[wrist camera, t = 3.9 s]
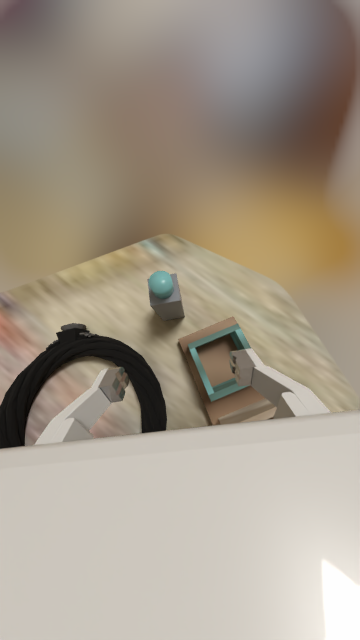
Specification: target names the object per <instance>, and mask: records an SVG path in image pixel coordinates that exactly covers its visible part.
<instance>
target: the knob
mask: <svg viewBox="0 0 360 640" xmlns="http://www.w3.org/2000/svg"><path fill="white" fill-rule="evenodd" d="M148 287H149V297H150V306H151V307H152V308H153V309H154V310H155V312H156V313H157V314H158V315H159V316H160V317H161V319H162V320H163V321H166V320H171V319H177V318H182V317H184V311H183V305H182V299H181V294H180V290H179V285H178V280H177V275H176V274H170V275H169V274H168V273H167V272H165V271H157V272H155V273H153V274H152V275H151V277H150V278H149V279H148Z"/></svg>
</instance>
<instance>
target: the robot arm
mask: <svg viewBox="0 0 360 640" xmlns="http://www.w3.org/2000/svg"><path fill="white" fill-rule="evenodd" d="M230 357H231V358H230V360H229V363H230V368H231V371H232V373H234V374H235V380H236V382H237V384H238V386H249V385H251V386H252V387H253V388H254V389H255V390H257V391H258V392H259V393H260V394H261V395H262V396H264V397H265V398H266V399H267V400H268V401H269V402H271V403H272V404H273V405H274V406H275V407H277V409H276V411H275V414H274V419H269V420H260V421H250V422H241V423H232V424H223V425H214V426H204V427H195V428H186V429H177V430H167V431H158V432H149V433H140V434H131V435H122V436H112V437H103V438H94V439H93V437H94V436H93V434H92V433H90V432H89V430H90V429H91V428H92V426H93V425H94V424H95V423H96V421H97V420H98V419H99V418H100V417H101V415H102V414H103V413H104V412H105V410H106V409H107V408H108V407H109V406H110V404H111V403H113V402H119V401H123V398H124V395H125V390H124V389H125V388H126V387H127V386H128V382H129V378H128V375H127V373H125V372H124V371H125V369H124V368H123V367H116V368H108V369H102V370H101V371H100V373H99V375H98V377H97V378H96V380H95V382H94V383H93V385H92V387H91V388H90V389H88V390H87V391H85V392H84V393H83V394H82V395H81V396H79V397H78V398H77V399H76V400H75V401H73V402H72V403H71V404H70V405H69V406H67V407H66V408H65V409H64V410H63V411H61V412H60V413H59V414H58V415H57V416H56V417H54V418H53V419H52V420H51V421H50V423H49V424H48V426H47V427H46V429H45V430H44V431H43V433H42V434H41V436H40V437H39V439H38V440H37V441H36V443H35V444H34V445H30V446H21V447H12V448H2V449H0V640H360V410H351V411H342V412H333V413H331V412H330V411H329V410H328V409H327V407H326V406H325V405H324V404H323V403H322V402H321V401H320V400H319V399H318V398H317V396H316V395H315V394H314V393H313V392H312V391H311V390H310V389H309V388H307V387H305V386H303V385H302V384H300V383H298V382H296V381H294V380H292V379H291V378H289V377H287V376H285V375H283V374H282V373H280V372H278V371H276V370H274V369H272V368H271V367H269V366H265V365H264V364H263V363H262V361H261V360H260V358H259V357H258V356H257V354H256V353H255V352H254V350H253V349H252V348H250V349H243V350H236V351H230Z"/></svg>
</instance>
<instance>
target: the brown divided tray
mask: <svg viewBox="0 0 360 640" xmlns="http://www.w3.org/2000/svg"><path fill="white" fill-rule="evenodd" d="M179 342H180V345H181V347H182V350H183V352H184V355H185V357H186V360H187V362H188V365H189V367H190V370H191V372H192V375H193V377H194V380H195V382H196V385H197V387H198V390H199V392H200V395H201V397H202V400H203V402H204V405H205V407H206V410H207V412H208V415H209V417H210V420H211V422H212V425H213V426H214V425H223V424H232V423H241V422H250V421H260V420H269V419H274V414H275V411H276V409H277V407H275V406H274V405H273V404H272V403H271V402H269V401H268V400H267V399H266V398H265V397H264V396H262V395H261V394H260V393H259V392H258V391H257V390H255V389H254V388H253V387H252V386H251V385H249V386H238V384H237V382H236V380H235V374H234V373H232V371H231V368H230V363H229V360H230V358H231V357H230V351H236V350H243V349H250V348H251V347H250V345H249V343H248V341H247V340H246V338H245V336H244V334H243V332H242V330H241V329H240V327H239V325H238V323H237V322H236V320H235V318H234V317H231V318H228V319H226V320H224V321H221V322H219V323H216V324H214V325H212V326H209V327H207V328H204V329H202V330H200V331H197V332H195V333H192V334H190V335H188V336H185V337H183V338H180V339H179Z"/></svg>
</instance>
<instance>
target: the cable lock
mask: <svg viewBox="0 0 360 640" xmlns="http://www.w3.org/2000/svg"><path fill="white" fill-rule="evenodd" d="M85 328H86V326H85V325H83V324H76V323H72V324H68V325H64V326H62V327H61V330H63V331H61V332H58V333H56V334H57V337H58V340H56V341H54V342H53V344H50V345H49V347H47V348H46V351H44V352H42V353H41V354H40V355H39V356H38V357H37V358H36V359H35V360H34V361H33V362H32V363H31V364H30V365H29V366H27V367H26V368H25V369H24V370H23V371H22V372H21V373H20V374H19V375H18V376H17V378H16V379H15V381H14V382H13V384H12V385H11V387H10V388H9V389H8V391H7V392H6V394H5V397H4V399H3V402H2V404H1V406H0V449H2V448H12V447H21V446H24V425H25V420H26V417H27V415H28V412H29V409H30V406H31V403H32V400H33V397H34V395H35V393H36V392H37V390H38V389H39V388H40V386H41V385H42V384H43V383H44V381H45V380H46V379H47V377H48V376H49V375H50V374H51V373H52V372H53V371H54V370H55V369H57V368H58V367H60V366H61V365H62V364H64V363H66V362H68V361H71V360H73V359H75V358H78V357H84V356H95V357H99V358H102V359H106V360H109V361H112V362H113V363H115V364H116V365H117V366H118V367H123V368H124V369H125V371H124V372H125V373H127V375H128V378H129V379H130V380H131V382H132V384H133V387H134V389H135V392H136V394H137V397H138V399H139V402H140V406H141V419H142V433H149V432H158V431H166V423H167V416H166V406H165V400H164V398H163V395H162V391H161V387H160V383H159V382H158V380H157V378H156V376H155V374H154V373H153V371H152V369H151V368H150V366H149V365H148V364H147V362H146V361H145V359H144V358H143V357H142V356H141V355H140V354H139V353H137V352H136V351H135V350H133V349H132V348H131V347H129V346H128V345H126V344H124V343H122V342H121V341H119V340H115V339H112V338H109V337H104V336H99V335H97V334H95V335H94V334H91V333H89V331H88V330H84V329H85Z"/></svg>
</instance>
